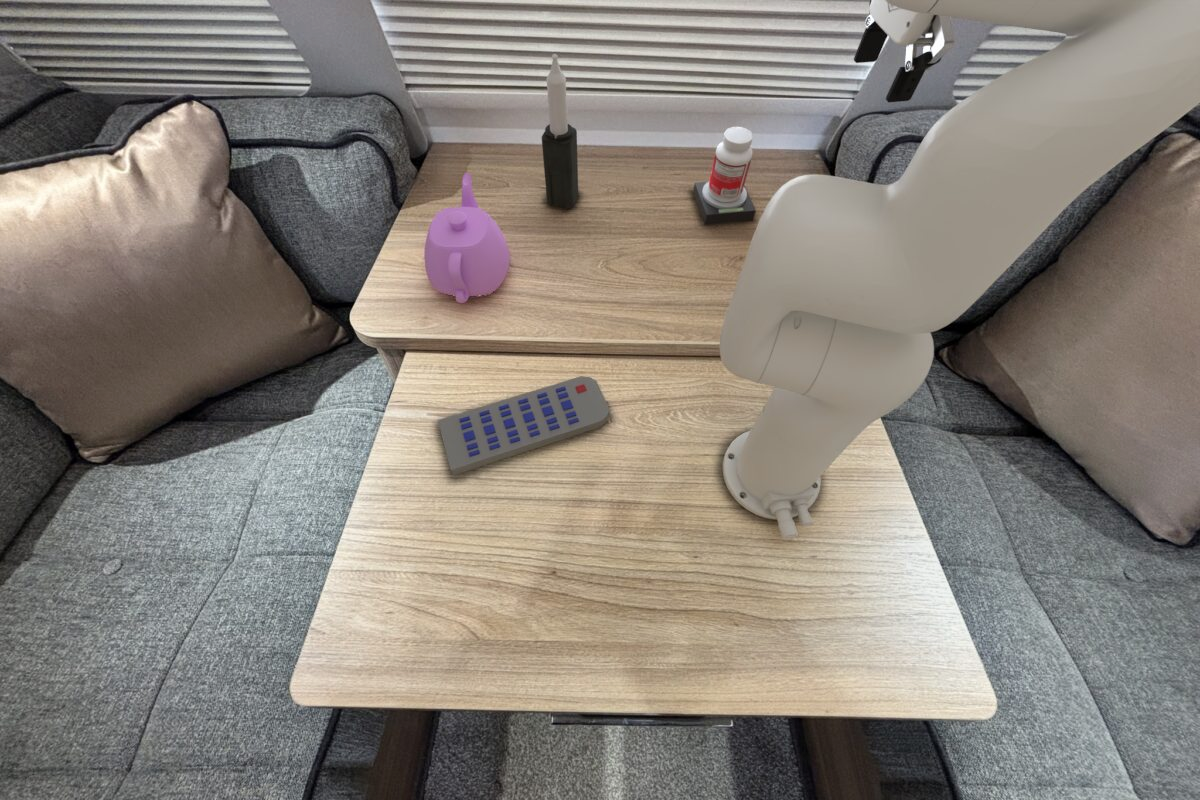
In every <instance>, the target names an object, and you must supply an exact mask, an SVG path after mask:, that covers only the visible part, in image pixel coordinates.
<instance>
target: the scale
mask: <svg viewBox="0 0 1200 800" xmlns="http://www.w3.org/2000/svg"><path fill="white" fill-rule="evenodd" d="M708 186H709V181H698V182H694V184H693V190H692V194H693V197H694V200H695V203H696V206H697V208H698V210H699V213H700V216H701V219H702V222H703V224H704V226H707V225H719V224H727V223H728V224H729V223H740V222H750V221H753V220H754V218H755V215H756V211H757V210H756V208H755V205H754V202H753V201H752V199H751V197H750V194H749V192H748V190H747V188H746V185H745V184H744V188H743V192H742V194H741V196H740V197H739V198H738V199H737V200H735V201H733V202H720V201H717V200H715V199H714V198H712V197H711V196H710V194H709V192H708Z"/></svg>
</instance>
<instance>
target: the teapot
mask: <svg viewBox="0 0 1200 800" xmlns="http://www.w3.org/2000/svg"><path fill="white" fill-rule="evenodd" d="M423 257H424V258H423V259H424V267H425V271H426V272H425V273H426V275H427V279H428V282H429V283H430V284H431V286H432V288H434V289H435V290H436V291H438V292H439V293H441V294H443V293H444V294H443V295H446V294H448V295H454V296H456V297H455V301H456V302H458V303H459V304H464V303H466V302H467V301H468V300H469V298H470V297H469V296H477V297H476V298H481V297H482V296H479V295H484V296H483V297H486V296H489V295H492V294H493V293H494V292H495V291H497V289H499V288H500V287H501V285H502V284H503V282H504V280H505V279H506V276H507V275H508V272H509V269H510V264H511V254H510V250H509V246H508V243H507V241H506V238H505V236H504V234H503V232H502V230H501V228H500V227H499V225H498V224H497V222H496V221H495V220H494V219H493V217H492V216H491V215H490V214H489V213H488V212H487V211H485V210H484V209H483V208H481V207H479V204H478V202H477V199H476V197H475V194H474V190H473V185H472V175H471V173H470V172H465V173H464V174H463V176H462V180H461V203H460V206H449V207H445V208H442V209H441V210H439V211H437V213H436V214H435V215H434V217H433V218H432V220H431V222H430V224H429V228H428V231H427V234H426V239H425V244H424V255H423ZM493 291H494V292H493ZM491 292H492V293H491ZM489 293H490V294H489ZM486 294H488V295H486ZM448 295H447V296H448Z"/></svg>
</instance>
